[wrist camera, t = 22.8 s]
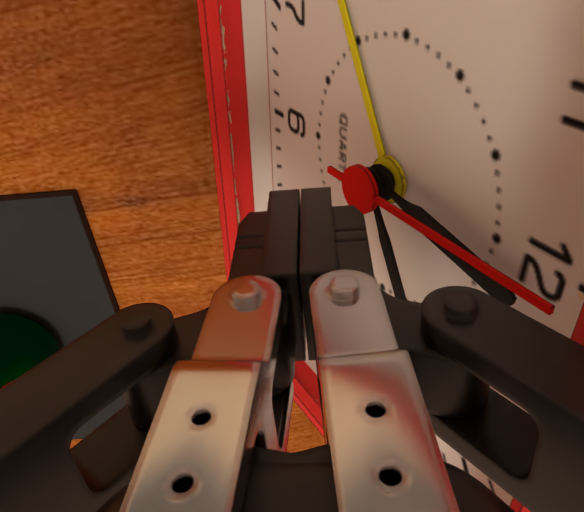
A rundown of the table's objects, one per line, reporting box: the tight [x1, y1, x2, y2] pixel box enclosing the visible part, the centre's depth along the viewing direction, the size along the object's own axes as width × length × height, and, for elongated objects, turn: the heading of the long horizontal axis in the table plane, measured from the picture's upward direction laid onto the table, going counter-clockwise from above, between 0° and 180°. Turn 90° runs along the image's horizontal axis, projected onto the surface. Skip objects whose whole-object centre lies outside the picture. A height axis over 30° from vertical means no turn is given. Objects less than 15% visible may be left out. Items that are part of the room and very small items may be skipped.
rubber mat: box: [0, 190, 127, 439], centre depth 32 cm, size 18×12×1 cm, turn 6°
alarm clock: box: [197, 0, 584, 512], centre depth 16 cm, size 10×20×16 cm
